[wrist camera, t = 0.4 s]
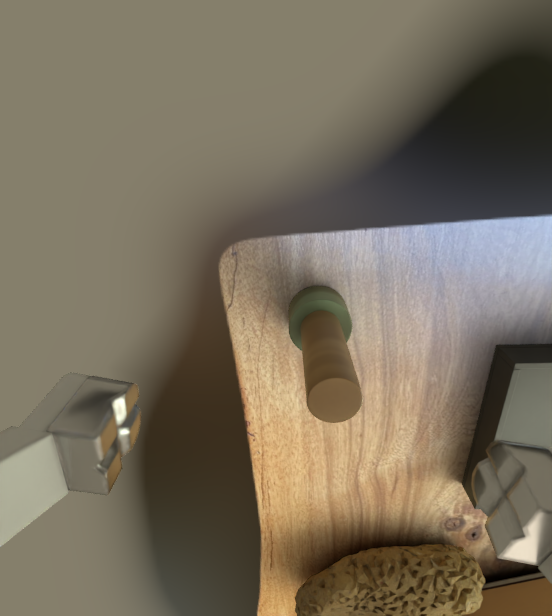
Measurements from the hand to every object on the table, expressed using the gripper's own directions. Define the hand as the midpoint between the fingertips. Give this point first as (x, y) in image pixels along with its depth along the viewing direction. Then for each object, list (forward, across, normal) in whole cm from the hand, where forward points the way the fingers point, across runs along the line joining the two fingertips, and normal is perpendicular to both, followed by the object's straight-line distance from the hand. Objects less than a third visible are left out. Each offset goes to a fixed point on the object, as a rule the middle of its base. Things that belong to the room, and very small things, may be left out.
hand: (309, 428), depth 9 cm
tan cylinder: (+22, -2, +10) cm, 24 cm away
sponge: (+19, -15, +42) cm, 48 cm away
